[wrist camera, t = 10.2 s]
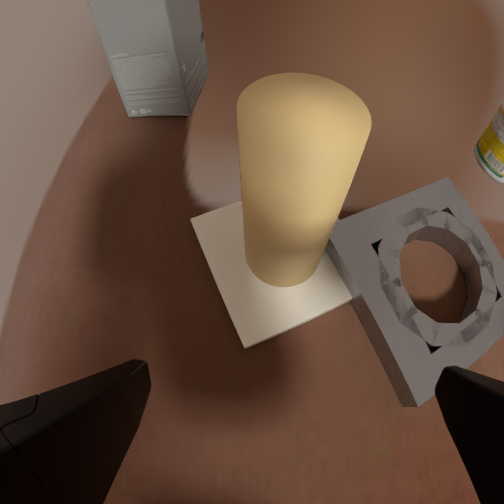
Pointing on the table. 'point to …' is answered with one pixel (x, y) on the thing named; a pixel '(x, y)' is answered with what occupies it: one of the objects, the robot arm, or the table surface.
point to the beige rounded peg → (295, 169)
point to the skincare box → (153, 53)
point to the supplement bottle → (492, 147)
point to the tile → (256, 291)
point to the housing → (396, 297)
